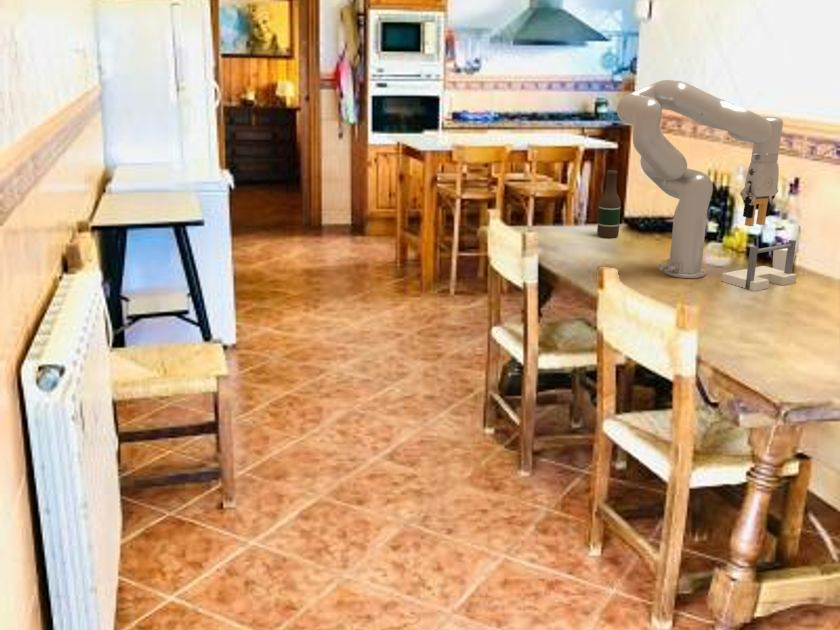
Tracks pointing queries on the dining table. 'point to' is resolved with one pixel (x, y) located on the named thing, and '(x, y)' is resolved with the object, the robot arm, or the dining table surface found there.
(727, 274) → the hanging rack
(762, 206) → the orange u-shaped block
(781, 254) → the beige cube
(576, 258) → the dining table surface
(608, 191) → the beer bottle
